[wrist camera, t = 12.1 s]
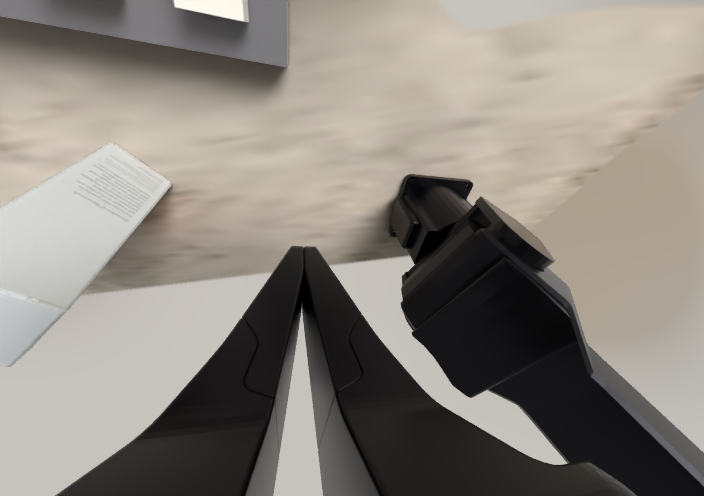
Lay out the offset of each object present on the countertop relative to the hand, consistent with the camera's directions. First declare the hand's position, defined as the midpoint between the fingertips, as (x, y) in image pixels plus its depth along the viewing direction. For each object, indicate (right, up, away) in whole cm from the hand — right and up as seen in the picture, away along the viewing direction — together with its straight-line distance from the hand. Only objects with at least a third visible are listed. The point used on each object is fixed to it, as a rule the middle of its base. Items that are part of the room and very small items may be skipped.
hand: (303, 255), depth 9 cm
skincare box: (-15, +5, +10) cm, 19 cm away
